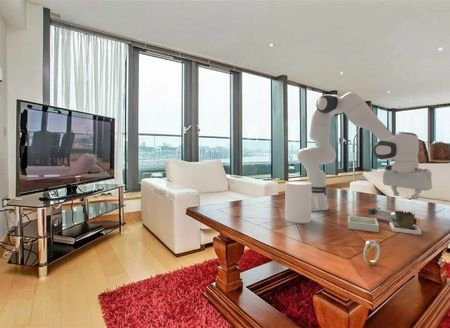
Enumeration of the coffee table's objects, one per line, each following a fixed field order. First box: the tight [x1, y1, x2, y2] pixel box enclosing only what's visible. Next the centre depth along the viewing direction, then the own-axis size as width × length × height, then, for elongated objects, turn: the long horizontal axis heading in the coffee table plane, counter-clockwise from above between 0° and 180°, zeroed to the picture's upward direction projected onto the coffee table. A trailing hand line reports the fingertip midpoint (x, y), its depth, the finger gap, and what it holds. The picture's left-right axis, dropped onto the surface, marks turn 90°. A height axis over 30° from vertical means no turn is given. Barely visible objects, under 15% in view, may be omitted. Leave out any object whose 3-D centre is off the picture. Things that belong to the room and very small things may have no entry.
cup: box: [394, 210, 416, 229], centre depth 114 cm, size 8×7×8 cm
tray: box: [347, 215, 380, 233], centre depth 120 cm, size 12×12×3 cm
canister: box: [284, 180, 312, 224], centre depth 133 cm, size 14×14×20 cm
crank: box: [368, 207, 421, 226], centre depth 124 cm, size 22×6×4 cm, turn 22°
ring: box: [362, 239, 381, 266], centre depth 81 cm, size 7×3×8 cm, turn 113°
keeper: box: [389, 221, 422, 235], centre depth 115 cm, size 10×10×2 cm
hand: (405, 197), depth 114 cm, fingers open, 7 cm apart
